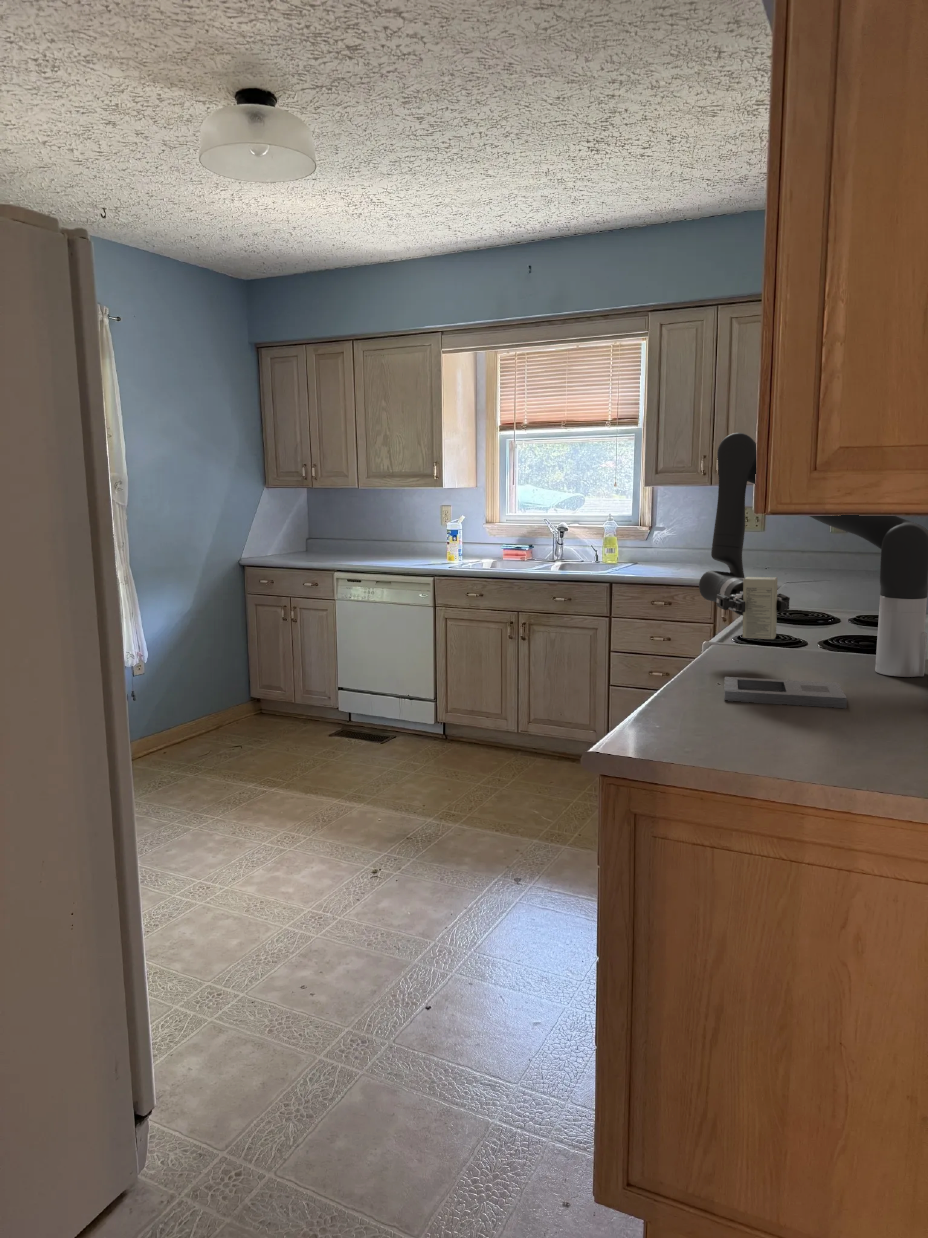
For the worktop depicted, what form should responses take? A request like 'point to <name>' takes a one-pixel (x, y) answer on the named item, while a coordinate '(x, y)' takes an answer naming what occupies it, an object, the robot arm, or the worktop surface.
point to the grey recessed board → (785, 692)
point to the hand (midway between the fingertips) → (763, 607)
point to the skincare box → (760, 607)
